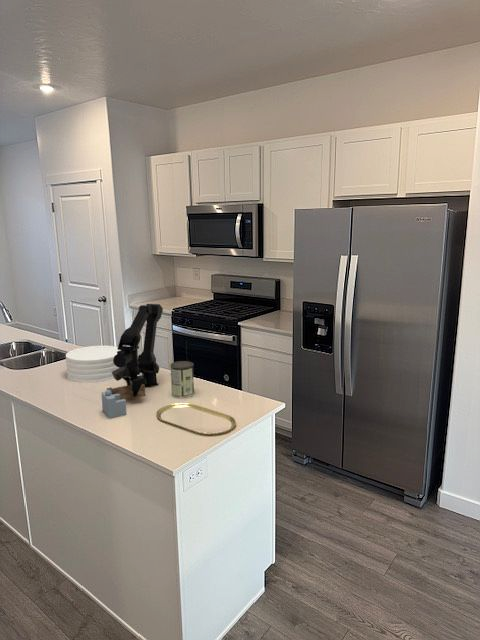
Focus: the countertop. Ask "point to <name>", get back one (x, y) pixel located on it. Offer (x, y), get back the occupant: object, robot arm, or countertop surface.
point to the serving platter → (199, 410)
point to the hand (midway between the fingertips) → (133, 394)
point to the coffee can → (182, 379)
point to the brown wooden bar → (127, 392)
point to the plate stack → (91, 363)
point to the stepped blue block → (113, 404)
